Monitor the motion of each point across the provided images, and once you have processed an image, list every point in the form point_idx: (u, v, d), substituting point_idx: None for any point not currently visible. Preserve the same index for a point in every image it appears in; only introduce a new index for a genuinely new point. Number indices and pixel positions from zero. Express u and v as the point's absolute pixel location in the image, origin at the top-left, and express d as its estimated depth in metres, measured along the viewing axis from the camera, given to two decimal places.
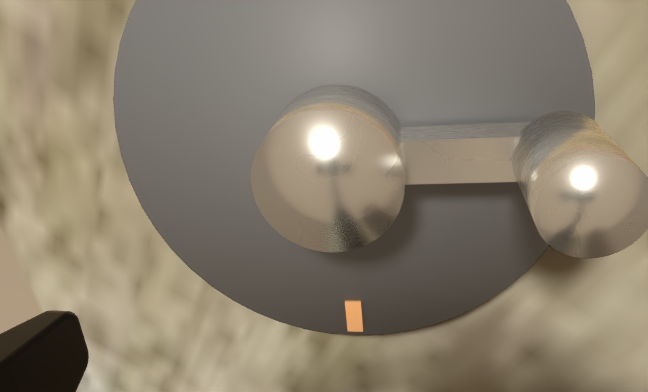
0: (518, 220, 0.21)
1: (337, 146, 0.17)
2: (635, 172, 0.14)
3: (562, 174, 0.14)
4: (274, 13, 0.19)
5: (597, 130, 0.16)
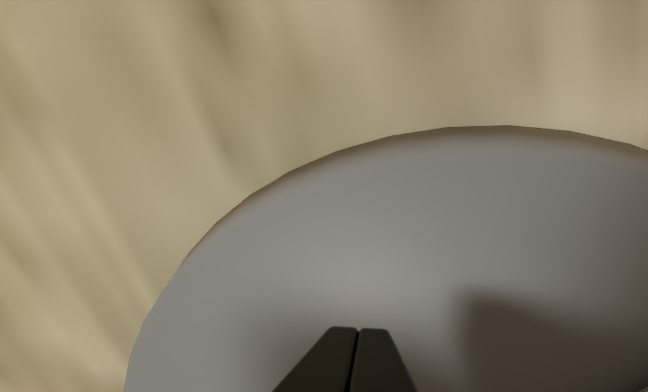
0: None
1: None
2: None
3: None
4: None
5: None
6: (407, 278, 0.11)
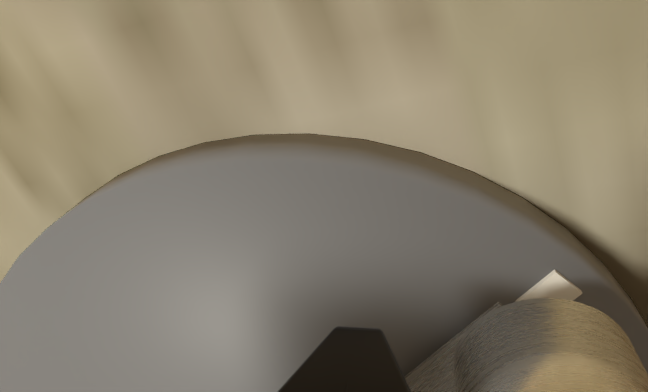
0: None
1: None
2: None
3: None
4: None
5: (527, 372, 0.08)
6: (180, 285, 0.12)
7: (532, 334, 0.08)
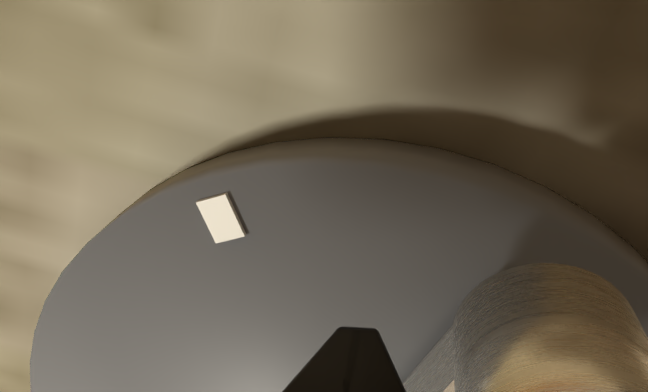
0: (392, 242, 0.11)
1: None
2: None
3: None
4: None
5: (505, 337, 0.08)
6: None
7: (513, 300, 0.08)
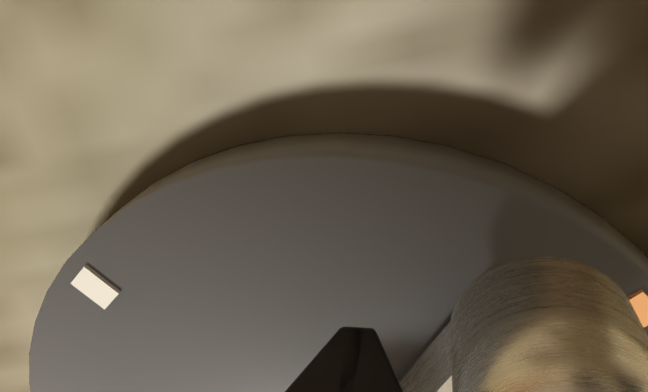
0: (222, 244, 0.12)
1: None
2: None
3: None
4: None
5: (502, 331, 0.08)
6: None
7: (510, 294, 0.08)
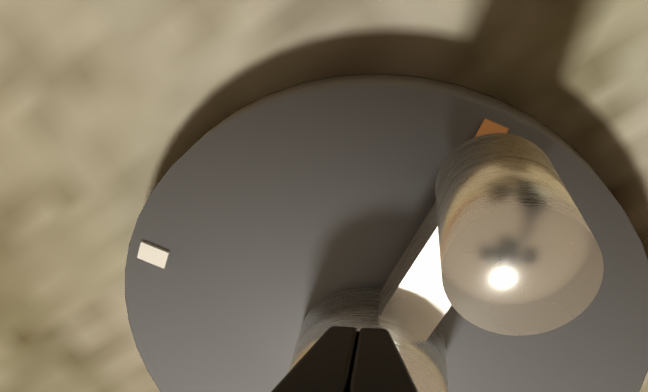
0: (218, 192, 0.17)
1: None
2: (495, 217, 0.10)
3: (448, 285, 0.11)
4: None
5: (464, 170, 0.12)
6: None
7: (469, 153, 0.13)
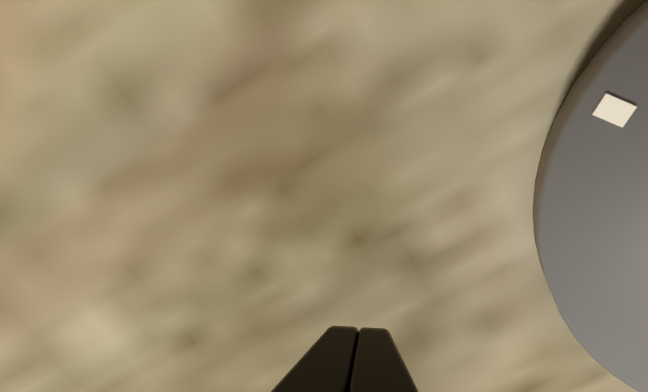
0: None
1: None
2: None
3: None
4: None
5: None
6: (645, 310, 0.19)
7: None
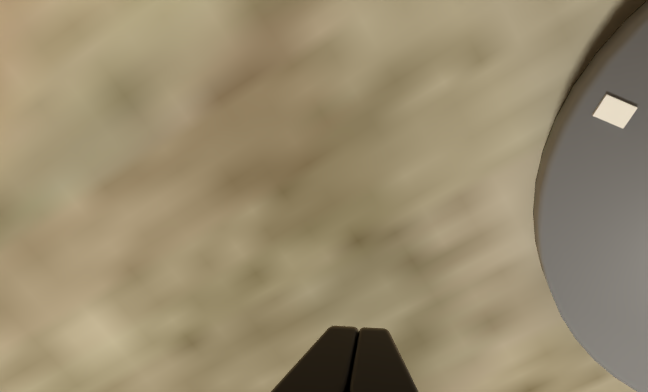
0: None
1: None
2: None
3: None
4: None
5: None
6: (646, 311, 0.19)
7: None
